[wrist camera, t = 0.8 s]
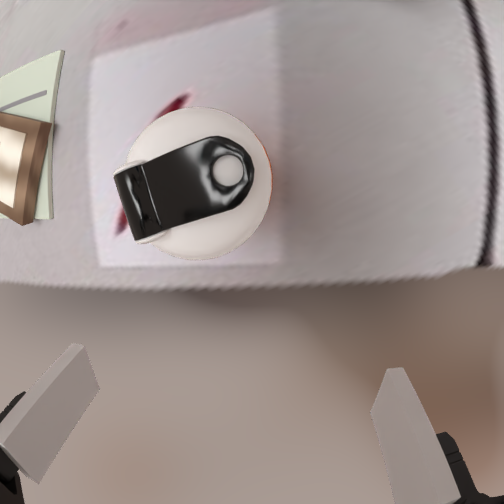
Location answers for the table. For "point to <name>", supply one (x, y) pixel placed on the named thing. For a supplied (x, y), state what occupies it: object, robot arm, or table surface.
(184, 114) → the shaker bottle
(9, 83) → the wall panel
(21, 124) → the frame
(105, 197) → the table surface
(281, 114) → the table surface
